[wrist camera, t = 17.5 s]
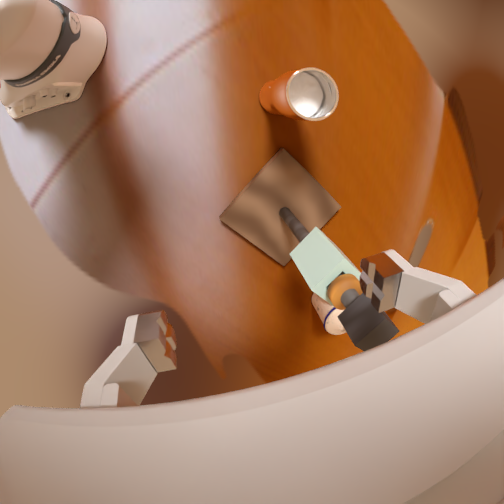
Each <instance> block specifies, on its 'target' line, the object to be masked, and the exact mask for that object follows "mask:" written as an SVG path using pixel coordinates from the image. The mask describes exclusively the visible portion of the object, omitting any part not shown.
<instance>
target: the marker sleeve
mask: <svg viewBox="0 0 504 504" xmlns="http://www.w3.org/2000/svg"><path fill="white" fill-rule="evenodd" d="M290 256H291V257H292V259H293V261H294V262H295V264H296V266H297V267H298V269H299V271H300V272H301V274H302V275H303V277H304V279H305V281H306V282H307V284H308V286H309V287H310V289H311V290H312V291H313V292H314V293H316V294H317V295H318V296H320V297H321V298H323V299H324V300H325V301H327V302H328V303H329V304H331V305H332V306H334V305H333V304H332V302H331V301H330V299H329V298H328V295H327V291H328V287H329V284H330V283H331V282H332V281H333V280H334V279H335V278H336V277H337V276H338V275H339V274H340V273H341V272H342V273H343V274H353V275H354V276H355V277H356V278H357V279H358V280H360V275H361V272H360V271H359V270H358V269H357V268H356V267H355V266H354V264H353V263H352V262H351V261H350V260H349V259H348V258H347V257H346V256H345V254H344V253H343V252H342V251H341V250H340V249H339V248H338V247H337V246H336V245H335V244H334V243H333V242H332V241H331V240H330V239H329V238H328V237H327V236H326V235H325V234H324V233H323V232H322V231H321V230H319V229H318V228H317V227H315V228H314V229H313V230H312V231H311V232H310V233H309V234H308V235H307V236H306V237H305V238H304V239H303V240H302V241H301V242H300V243H299V244H298V246H297V247H296V248H295V249H294V250H293V251H292V252H291V253H290Z"/></svg>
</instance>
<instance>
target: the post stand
mask: <svg viewBox="0 0 504 504" xmlns="http://www.w3.org/2000/svg"><path fill="white" fill-rule="evenodd" d="M340 208H341V206H340V205H339V204H338V203H337V202H336V201H335V200H334V198H333V197H332V196H331V195H330V194H329V193H328V192H327V191H326V190H325V189H324V188H323V187H322V186H321V185H320V184H319V183H318V182H317V181H316V180H315V179H314V178H313V177H312V176H311V175H310V174H309V173H308V172H307V171H306V170H305V169H304V168H303V167H302V166H301V165H300V164H299V163H298V162H297V161H296V160H295V159H294V158H293V157H292V156H291V155H290V154H289V153H288V152H287V151H286V150H285V149H283V148H280V149H279V151H278V152H277V153H276V154H275V155H274V156H273V157H272V158H271V159H270V160H269V161H268V162H267V163H266V165H265V166H264V167H263V168H262V169H261V170H260V171H259V172H258V173H257V174H256V176H255V177H254V178H253V179H252V180H251V181H250V182H249V183H248V184H247V186H246V187H245V188H244V189H243V190H242V191H241V192H240V193H239V195H238V196H237V197H236V198H235V199H234V200H233V201H232V203H231V204H230V205H229V206H228V207H227V208H226V209H225V211H224V212H223V213H222V214H221V215H220V216H219V217H220V220H221V221H223V222H224V223H225V224H227V225H228V226H229V227H231V228H232V229H233V230H235V231H236V232H238V233H239V234H240V235H242V236H243V237H244V238H246V239H247V240H249V241H250V242H251V243H253V244H254V245H255V246H257V247H258V248H260V249H261V250H262V251H264V252H265V253H266V254H268V255H269V256H270V257H272V258H273V259H275V260H276V261H277V262H279V263H280V264H281V265H283V266H285V265H286V264H287V263H288V262H289V261H290V260H291V259H292V257H291V256H290V253H291V252H292V251H293V250H294V249H295V248H296V247H297V246H298V244H299V243H300V242H301V241H302V240H303V239H304V238H305V237H306V236H307V235H308V234H309V233H310V232H311V231H312V230H313V229H314V228H315V227H317V228H318V229H319V230H320V229H321V228H322V227H323V226H324V225H325V224H326V223H327V222H328V220H329V219H330V218H331V217H332V216H333V215H334V214H335V213H336V212H337V211H338V210H339V209H340ZM327 295H328V298H329V299H330V301H331V302H332V304H333V305H334V307H335V308H336V309H339V310H344V311H343V312H342V313H341V314H339V315H338V316H337V317H338V319H339V320H340V322H341V324H342V325H343V327H344V329H345V330H346V332H347V333H348V335H349V337H350V338H351V340H352V342H353V343H354V345H355V346H356V347H358V348H360V349H361V350H363V351H367V350H369V349H372V348H374V347H376V346H379V345H381V344H384V343H386V342H388V341H389V340H390V339H391V338H392V337H394V336H395V335H396V334H397V333H398V332H399V330H398V329H397V327H396V326H395V325H394V323H393V322H392V321H391V320H390V318H389V317H388V316H387V314H386V313H385V312H384V311H383V312H380V313H378V312H377V310H376V309H375V308H374V306H373V305H372V304H371V298H368V297H366V296H365V295H364V294H363V292H362V290H361V287H360V283H359V280H358V279H357V278H356V277H355V276H354V275H353V274H343V273H342V272H341V273H340V274H339V275H338V276H337V277H336V278H335V279H334V280H333V281H332V282H331V283H330V284H329V287H328V291H327Z"/></svg>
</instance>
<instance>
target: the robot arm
mask: <svg viewBox="0 0 504 504" xmlns="http://www.w3.org/2000/svg"><path fill="white" fill-rule="evenodd" d="M106 43H107V36H106V31H105V28H104V26H103V25H102V23H101V22H100V21H99V20H97V19H96V18H94V17H91V16H85V15H80V14H77V13H74V12H72V11H71V10H70V9H69V8H67V7H66V6H64V5H62V4H61V3H59V2H57V1H54V0H0V101H1V102H2V104H3V105H4V106H5V108H6V110H7V112H8V114H9V115H10V116H11V117H12V118H13V119H18V118H21V117H23V116H26V115H29V114H32V113H35V112H38V111H41V110H44V109H47V108H50V107H54V106H57V105H61V104H64V103H68V102H72V101H75V100H77V99H79V98H80V96H81V94H82V92H83V90H84V87H85V84H86V82H87V80H88V79H89V77H90V76H91V75H92V74H93V73H94V71H95V70H96V69H97V67H98V66H99V64H100V62H101V60H102V58H103V56H104V53H105V49H106ZM68 93H70V96H69V97H67V94H68ZM360 267H361V269H362V270H363V271H362V273H361V275H360V280H359V283H360V287H361V290H362V292H363V294H364V295H365V296H366V297H368V298H371V304H372V305H373V306H374V308H375V309H376V310H377V312H378V313H380V312H383V311H386V310H388V309H391V308H394V307H395V308H396V309H398V310H400V311H402V312H404V313H406V314H408V315H410V316H411V317H413V318H415V319H417V320H419V321H421V322H423V323H425V325H423V326H420V327H418V328H416V329H414V330H412V331H410V332H408V333H406V334H404V335H402V336H399V337H397V338H395V339H393V340H390V341H388V342H386V343H384V344H381V345H379V346H376V347H374V348H372V349H369V350H367V351H364V352H362V353H359V354H357V355H354V356H351V357H349V358H346V359H343V360H340V361H338V362H335V363H332V364H329V365H326V366H323V367H320V368H317V369H314V370H311V371H308V372H305V373H301V374H298V375H295V376H291V377H288V378H285V379H281V380H277V381H274V382H270V383H266V384H262V385H258V386H254V387H250V388H246V389H242V390H237V391H232V392H228V393H223V394H218V395H212V396H207V397H201V398H195V399H190V400H183V401H176V402H169V403H160V404H152V405H142V406H139V405H140V403H141V401H142V400H143V398H144V396H145V394H146V393H147V391H148V389H149V387H150V385H151V384H152V382H153V380H154V379H155V377H156V375H157V373H158V372H163V371H168V370H173V369H177V356H176V354H175V352H174V350H175V349H176V347H177V345H176V342H177V341H176V336H175V333H174V330H173V327H172V325H170V324H169V323H167V315H166V313H165V312H164V311H163V310H159V311H153V312H148V313H142V314H137V315H132V316H129V317H128V318H127V319H126V324H125V328H124V333H123V338H122V343H121V346H118V347H117V348H116V349H115V350H114V351H113V352H112V353H111V355H110V356H109V357H108V358H107V359H106V360H105V361H104V363H103V364H102V365H101V366H100V367H99V368H98V369H97V371H96V372H95V373H94V374H93V375H92V377H91V378H90V379H89V380H88V381H87V382H86V384H85V385H84V390H83V394H82V399H81V405H80V408H79V409H78V408H44V407H29V406H22V405H15V406H12V407H11V408H10V409H9V410H8V411H7V412H5V413H4V415H3V416H2V417H1V418H0V504H504V278H503V279H501V280H500V281H498V282H497V283H495V284H494V285H492V286H491V287H489V288H488V289H486V290H485V291H483V292H482V293H480V294H478V295H476V294H475V293H473V292H472V291H471V290H470V289H469V288H468V287H467V286H466V285H465V284H464V283H463V282H462V281H460V280H456V279H453V278H450V277H447V276H444V275H441V274H438V273H434V272H431V271H428V270H425V269H422V268H418V267H415V268H414V267H413V266H411V265H410V264H409V263H408V262H407V261H406V260H405V259H404V258H403V257H401V256H400V255H399V254H398V253H397V252H396V251H395V250H392V249H390V250H387V251H384V252H382V253H379V254H376V255H373V256H369V257H366V258H363V259H362V260H361V265H360Z"/></svg>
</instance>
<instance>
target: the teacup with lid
mask: <svg viewBox="0 0 504 504" xmlns="http://www.w3.org/2000/svg"><path fill="white" fill-rule="evenodd" d="M312 304H313V306H314V308H315V310H316V312H317V313H318V315H319V317H320V319H321V321H322V322H323V324H324V328H325V330H326V331H327V332H328V333H330V334H333V335H339V334H343V333H346V330H345V329H344V327H343V325H342V324H341V322H340V320H339V319H338V317H337V316H338V315H339V314H341V313H342V312H343V311H344V310H339V309H336V308H335V307H334V306H332V305H331V304H329V303H328V302H327V301H325V300H324V299H323V298H321V297H320V296H318V295H317V294H316V293H313V295H312Z"/></svg>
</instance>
